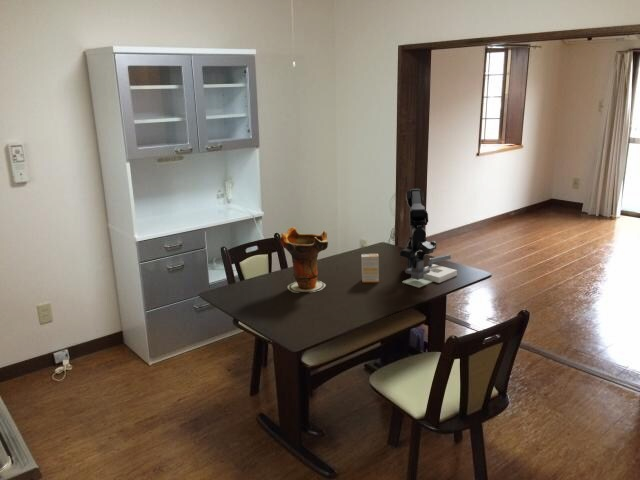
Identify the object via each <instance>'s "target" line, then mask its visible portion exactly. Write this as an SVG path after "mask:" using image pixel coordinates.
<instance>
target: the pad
mask: <svg viewBox="0 0 640 480" xmlns="http://www.w3.org/2000/svg"><path fill="white" fill-rule="evenodd" d="M401 282H402V284H406V285H410V286H413V287H414V288H415V287H416V288H419V289H420V288H421V287H424V286H427V285H429V284H430V283H433V282H434V281H431V280H427V279H424V278H422V279H419V280H417V279H413V278H411V277H410V278H407V279H405V280H403V281H401Z"/></svg>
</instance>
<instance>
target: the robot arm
mask: <svg viewBox="0 0 640 480" xmlns="http://www.w3.org/2000/svg"><path fill="white" fill-rule="evenodd" d="M424 199H425V198H424V191H423V190H421V189H420V188H411V189H410V190H407V191H406V192H405V201H407V202H406V204H407V206H408V207H409V217H408V218H409V226H410V236H409V240H408V242H407V245H406V247H405V248H402V249H400V251H399V256H400V257H403V258H406V259H407V266H406V267H405V270H406V269H409V268H411V267H412V266H413V268H414V269H415V268H416V260H417V259H421V260H424V261H425V258H426V256H427V255H430V254H432V253H434V251H435V250H436V249H437V242H436V241H435V240H431V242H430V241H428V240H427V233H426V230H425V226H427V225H428V223H429V213H428V211H427V210H426V209H425V208H426V207H425V206H424V205H423V201H424Z"/></svg>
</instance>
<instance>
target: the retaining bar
mask: <svg viewBox="0 0 640 480" xmlns="http://www.w3.org/2000/svg"><path fill="white" fill-rule="evenodd" d="M451 258H452V255H451V254H446V255H441V256H435V257H431V258H430V257H429V258H428V261H427V262H428V265H427V266H432V264H434V263H438V262H443V261H448V260H451Z"/></svg>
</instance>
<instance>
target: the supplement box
mask: <svg viewBox="0 0 640 480" xmlns="http://www.w3.org/2000/svg"><path fill="white" fill-rule="evenodd" d="M360 257H361V259H360V260H361V283H379V282H380V265H379V263H380V262H379V261H380V260H379V258H380V257H379V253H362V254H361V256H360Z"/></svg>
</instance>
